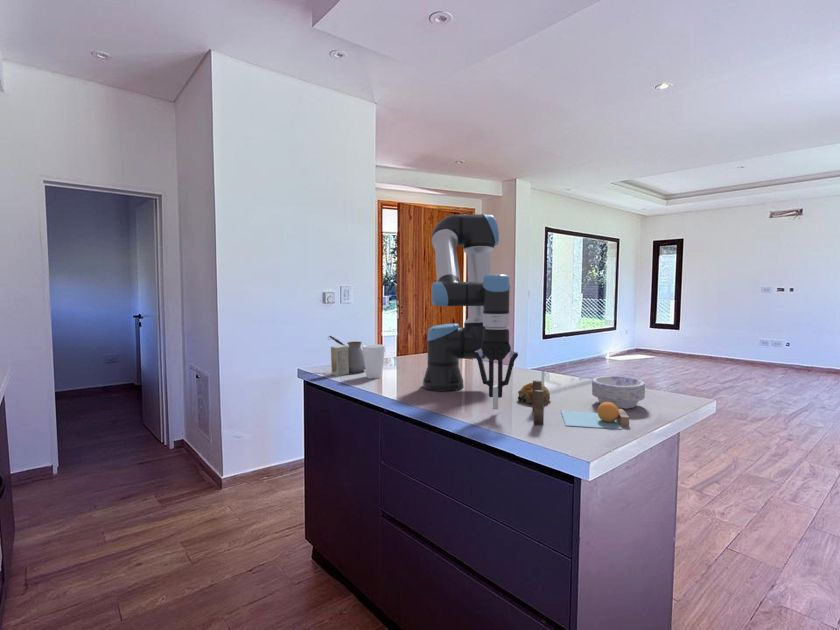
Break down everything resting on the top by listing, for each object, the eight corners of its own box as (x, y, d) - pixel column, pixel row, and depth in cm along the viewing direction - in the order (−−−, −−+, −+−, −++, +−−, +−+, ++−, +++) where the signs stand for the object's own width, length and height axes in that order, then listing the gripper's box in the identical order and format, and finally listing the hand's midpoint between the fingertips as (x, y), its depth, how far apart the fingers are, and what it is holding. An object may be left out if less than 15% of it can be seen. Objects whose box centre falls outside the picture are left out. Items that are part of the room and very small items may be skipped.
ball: (598, 420, 126) (593, 401, 126) (618, 416, 125) (613, 397, 125) (602, 427, 121) (597, 407, 121) (623, 422, 120) (618, 403, 120)
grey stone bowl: (584, 406, 139) (584, 381, 139) (601, 396, 151) (601, 373, 150) (636, 415, 129) (637, 388, 129) (650, 404, 141) (651, 379, 140)
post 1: (532, 409, 136) (532, 380, 135) (541, 409, 135) (541, 380, 135) (532, 411, 133) (532, 382, 133) (541, 412, 133) (541, 382, 132)
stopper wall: (614, 417, 127) (615, 408, 127) (622, 417, 127) (622, 409, 127) (621, 425, 120) (621, 416, 119) (629, 426, 119) (629, 417, 119)
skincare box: (343, 372, 194) (342, 344, 193) (349, 374, 191) (348, 345, 190) (330, 374, 190) (330, 346, 189) (336, 376, 186) (336, 347, 186)
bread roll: (545, 417, 140) (557, 395, 139) (515, 402, 142) (526, 380, 141) (543, 408, 150) (553, 387, 149) (515, 394, 152) (525, 373, 150)
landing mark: (560, 411, 133) (560, 410, 133) (610, 414, 130) (610, 413, 130) (565, 426, 120) (565, 425, 120) (621, 429, 117) (621, 428, 117)
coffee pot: (373, 370, 199) (372, 337, 198) (356, 374, 190) (355, 339, 189) (338, 365, 211) (337, 334, 210) (320, 369, 201) (319, 336, 200)
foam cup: (384, 379, 180) (384, 347, 179) (361, 379, 180) (361, 347, 179) (386, 374, 190) (386, 344, 189) (364, 374, 190) (364, 344, 189)
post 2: (533, 421, 123) (533, 389, 123) (543, 422, 123) (543, 390, 122) (533, 424, 121) (534, 392, 120) (543, 425, 120) (544, 392, 120)
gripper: (472, 328, 127) (471, 410, 128) (519, 329, 124) (518, 413, 125) (474, 326, 134) (474, 403, 136) (519, 327, 131) (518, 405, 133)
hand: (495, 408), depth 131 cm, fingers closed
